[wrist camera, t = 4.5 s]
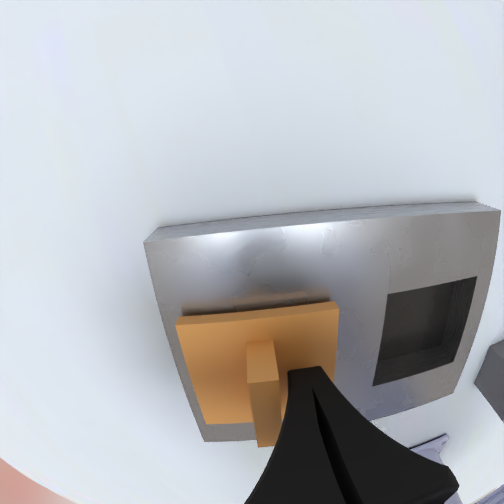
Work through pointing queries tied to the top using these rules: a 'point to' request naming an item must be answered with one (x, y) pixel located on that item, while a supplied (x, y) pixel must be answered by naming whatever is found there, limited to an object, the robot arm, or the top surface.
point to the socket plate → (342, 291)
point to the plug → (493, 378)
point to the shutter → (255, 360)
